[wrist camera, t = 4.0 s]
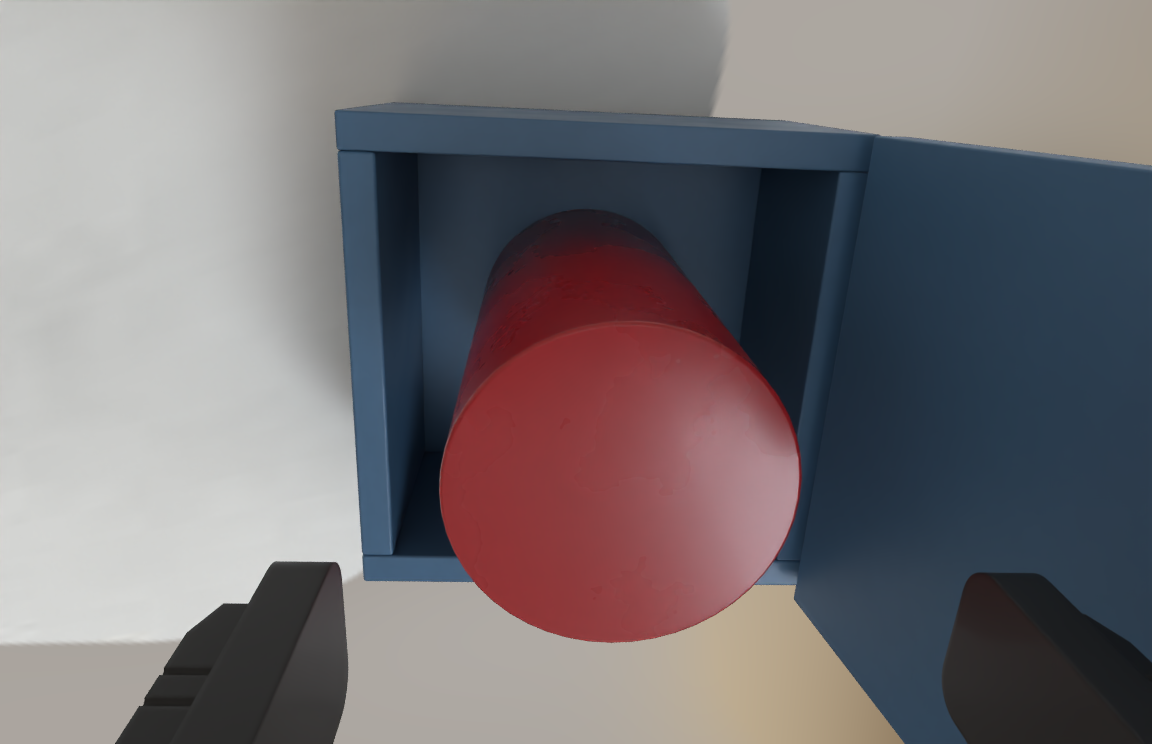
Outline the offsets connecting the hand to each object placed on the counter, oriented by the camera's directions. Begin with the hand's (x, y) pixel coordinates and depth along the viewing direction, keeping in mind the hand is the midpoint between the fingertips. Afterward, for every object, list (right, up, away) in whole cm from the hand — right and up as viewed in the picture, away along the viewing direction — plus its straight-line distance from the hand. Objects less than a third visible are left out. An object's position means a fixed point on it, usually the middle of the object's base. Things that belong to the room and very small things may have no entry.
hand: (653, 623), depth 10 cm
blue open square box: (-1, +5, +15) cm, 16 cm away
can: (-1, +5, +14) cm, 15 cm away
